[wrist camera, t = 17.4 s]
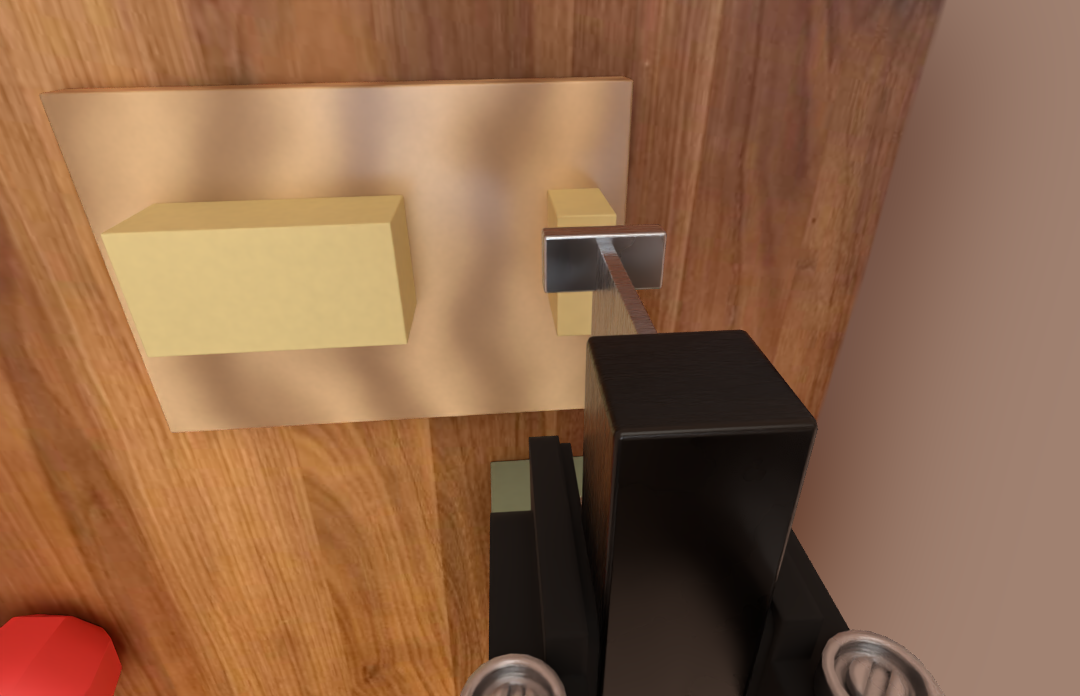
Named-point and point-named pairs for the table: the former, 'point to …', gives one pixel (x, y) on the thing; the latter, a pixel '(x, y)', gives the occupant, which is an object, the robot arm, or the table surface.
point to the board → (370, 170)
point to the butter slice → (575, 212)
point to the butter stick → (266, 274)
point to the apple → (56, 657)
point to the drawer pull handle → (676, 475)
